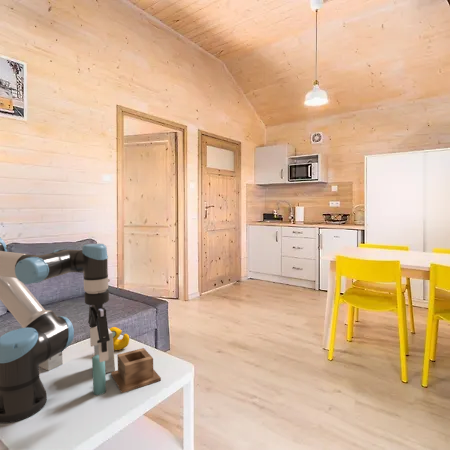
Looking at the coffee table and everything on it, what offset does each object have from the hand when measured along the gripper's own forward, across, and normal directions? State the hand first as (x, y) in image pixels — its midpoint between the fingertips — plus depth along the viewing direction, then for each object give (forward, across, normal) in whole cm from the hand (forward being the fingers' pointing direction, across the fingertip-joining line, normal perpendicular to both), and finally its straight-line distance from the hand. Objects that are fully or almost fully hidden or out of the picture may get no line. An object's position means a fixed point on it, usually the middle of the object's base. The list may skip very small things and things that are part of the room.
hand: (99, 352), depth 110 cm
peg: (+14, 0, 0) cm, 14 cm away
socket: (+14, +2, -13) cm, 19 cm away
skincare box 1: (+14, +29, +12) cm, 35 cm away
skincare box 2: (+14, +15, -5) cm, 21 cm away
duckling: (+14, +29, -13) cm, 35 cm away
